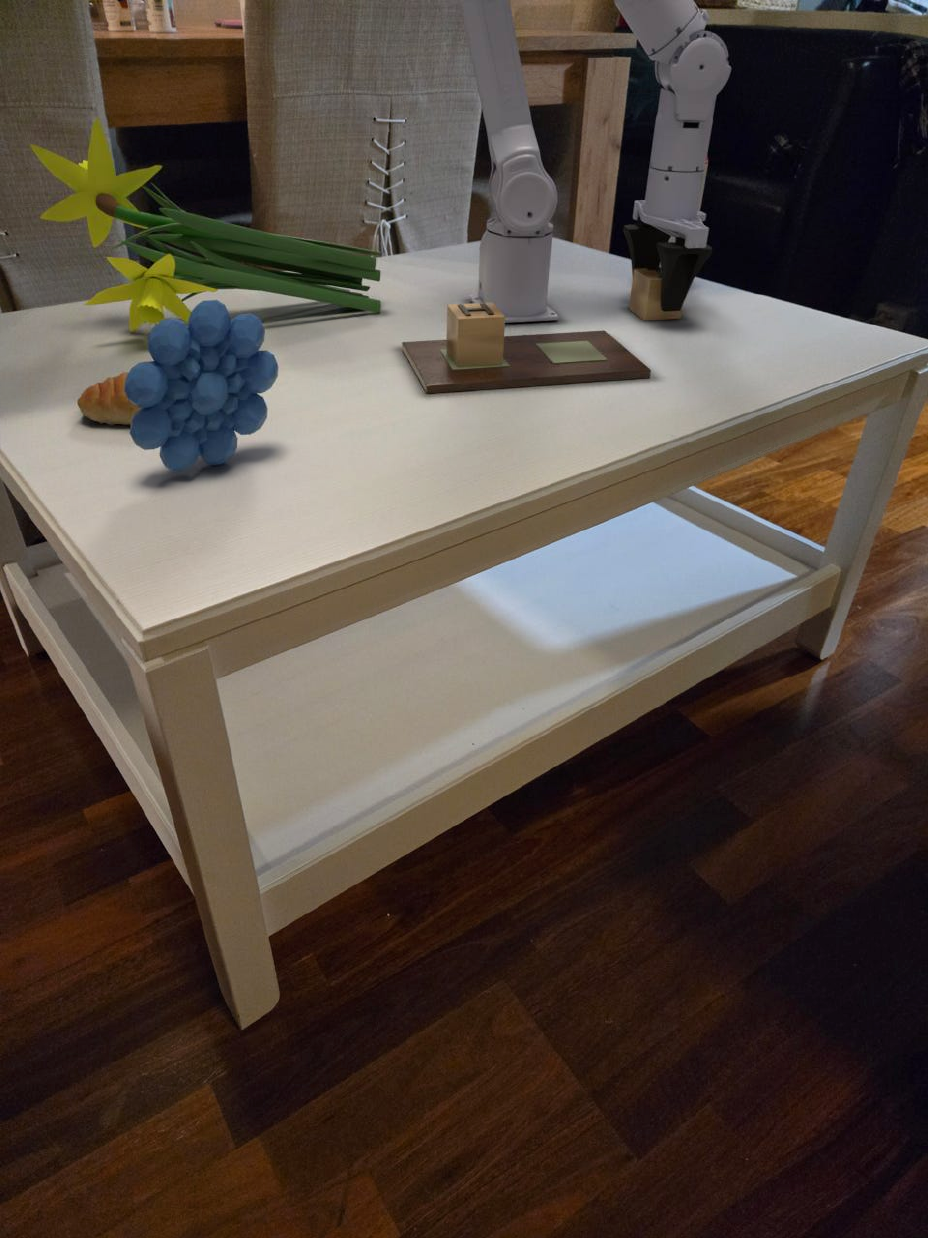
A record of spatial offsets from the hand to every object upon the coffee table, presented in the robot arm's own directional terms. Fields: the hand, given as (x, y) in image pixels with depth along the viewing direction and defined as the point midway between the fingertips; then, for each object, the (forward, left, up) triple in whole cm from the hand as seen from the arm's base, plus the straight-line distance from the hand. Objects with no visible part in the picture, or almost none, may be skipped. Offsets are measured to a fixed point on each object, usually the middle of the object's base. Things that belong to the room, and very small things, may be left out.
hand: (656, 300), depth 97 cm
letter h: (+13, -25, -1) cm, 28 cm away
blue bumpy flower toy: (+29, -50, -2) cm, 58 cm away
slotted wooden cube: (0, 0, -2) cm, 2 cm away
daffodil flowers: (-6, -47, -2) cm, 47 cm away
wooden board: (+13, -20, -2) cm, 24 cm away
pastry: (+19, -55, -2) cm, 58 cm away
